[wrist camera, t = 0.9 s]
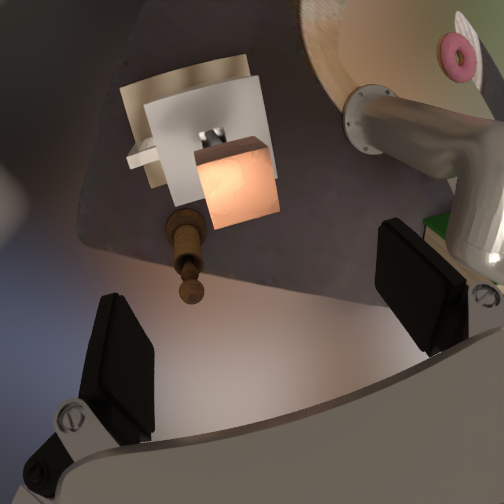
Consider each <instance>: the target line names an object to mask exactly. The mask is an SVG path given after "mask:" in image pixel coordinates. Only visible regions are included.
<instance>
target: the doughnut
mask: <svg viewBox="0 0 504 504" xmlns="http://www.w3.org/2000/svg"><path fill="white" fill-rule="evenodd" d="M456 51H457V52H458V55H459V64H457V62H456V61H457V60H456ZM437 58H438V62H439V65H440V67H441V69H442V71H443V72H444V74H445V75H446V76H447V77H448V78H449V79H451V80H453V81H454V82H457V83H464V82H467V81H469V80H471V78H472V77H474V76H473V75H474V73H475V70H476V63H477V62H476V57H475V52H474V50H473V47H472V46H471V44H470V43H469V41H468V40H467V39H466V38H465V37H463V36H462V35H460V34H459V33H455V32H450V33H447V34H445V35H443V36H442V37H441V38H440V40H439V42H438V45H437Z"/></svg>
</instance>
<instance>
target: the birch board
mask: <svg viewBox="0 0 504 504" xmlns="http://www.w3.org/2000/svg"><path fill="white" fill-rule="evenodd" d="M235 76H250V71H249V67H248V62H247V57H246V54H243V55H238V56H232V57H227V58H223V59H218V60H213V61H209V62H205V63H201V64H196V65H192V66H189V67H185V68H181V69H178V70H174V71H171V72H167V73H164V74H160V75H157V76H154V77H151V78H148V79H145V80H142V81H139V82H136V83H133V84H130V85H128V86H125V87H122V88H120V91H121V95H122V98H123V102H124V105H125V109H126V112H127V115H128V119H129V122H130V125H131V129H132V132H133V135H134V138H135V141H136V142H137V140H140V139H143V138H146V137H149V136H152V132H151V129H150V126H149V122H148V119H147V115H146V112H145V108H144V104H146V103H147V102H149V101H150V100H152V99H153V98H155V97H157V96H160V95H164V94H167V93H170V92H174V91H177V90H181V89H184V88H188V87H192V86H195V85H199V84H203V83H207V82H211V81H215V80H220V79H224V78H229V77H235ZM143 166H144V169H145V172H146V175H147V178H148V180H149V183H150V186H151V188H154V187H157V186H161V185H164V184H167V180H166V177H165V174H164V171H163V168H162V165H161V161H160V160H156V161H153V162H150V163H147V164H144V165H143Z"/></svg>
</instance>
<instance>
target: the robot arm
mask: <svg viewBox="0 0 504 504" xmlns="http://www.w3.org/2000/svg"><path fill="white" fill-rule="evenodd" d="M358 94H359V95H358ZM342 120H343V128H344V132H345V135H346V137H347V139H348V140H349V142H350V143H351V144H352V145H353V146H354V147H355V148H356V149H358V150H359V151H361V152H363V153H366V154H370V155H377V154H382V153H385V154H388V155H390V156H392V157H394V158H396V159H398V160H399V161H401V162H403V163H405V164H407V165H409V166H411V167H413V168H415V169H417V170H418V171H420V172H422V173H424V174H426V175H428V176H430V177H432V178H436V179H449V178H454V177H457V176H458V178H457V184H456V191H455V196H454V200H453V205H452V209H451V213H450V217H449V222H448V226H447V230H446V237H445V242H446V247H447V250H448V252H449V254H450V255H451V256H452V257H453V259H454V260H456V261H457V262H458V263H459V264H461V265H462V266H464V267H465V268H467V269H469V270H471V271H473V272H475V273H477V274H479V275H481V276H483V277H485V278H488V279H490V280H492V281H494V282H496V283H498V284H501V285H503V286H504V122H502V121H496V120H490V119H484V118H478V117H473V116H468V115H464V114H460V113H456V112H453V111H449V110H445V109H442V108H438V107H435V106H431V105H427V104H424V103H419V102H415V101H411V100H407V99H403V98H398V97H397V96H396V95H395V93H394V92H392V91H391V90H390V89H388V88H387V87H384V86H381V85H376V84H369V85H364V86H362V87H360V88H358V89H356V90H355V91H354V92H353V93H352V94H351V95H350V97H349V98H348V100H347V102H346V104H345V107H344V110H343V117H342ZM347 123H348V124H347ZM466 282H467V280H466V279H465V278H464V277H463V276H462V275H461V274H460V273H459V272H458V271H457V270H456V269H455V268H454V267H453V266H452V265H451V264H450V263H449V262H448V261H447V260H446V259H444V258H443V257H442V256H441V255H440V254H439V253H438V252H437V251H436V250H435V249H434V248H432V247H431V246H430V245H429V244H428V243H427V242H426V241H425V240H423V239H422V238H421V237H420V236H419V235H418V234H417V233H415V232H414V231H413V230H412V229H411V228H410V227H408V226H407V225H406V224H405V223H404V222H402V221H401V220H400V219H399V218H392V219H389V220H385V221H383V222H382V224H381V226H379V228H378V245H377V260H376V273H375V287H376V290H377V291H378V293H379V294H380V295H381V297H382V298H383V299H384V301H385V302H386V303H387V305H388V306H389V307H390V309H391V310H392V311H393V313H394V314H395V315H396V317H397V318H398V319H399V321H400V322H401V323H402V325H403V326H404V328H405V329H406V331H407V332H408V333H409V335H410V336H411V337H412V339H413V340H414V342H415V343H416V345H417V346H418V347H419V349H420V350H421V351H422V352H424V351H425V352H426V354H427V355H428V356H429V359H427V360H425V361H423V362H421V363H419V364H417V365H415V366H413V367H410V368H408V369H406V370H404V371H402V372H400V373H397V374H395V375H393V376H391V377H388V378H386V379H384V380H381V381H379V382H377V383H374V384H372V385H369V386H367V387H364V388H362V389H359V390H357V391H354V392H352V393H349V394H346V395H343V396H341V397H338V398H335V399H332V400H330V401H327V402H324V403H321V404H318V405H315V406H312V407H309V408H305V409H302V410H299V411H296V412H292V413H290V414H286V415H282V416H279V417H275V418H272V419H268V420H264V421H260V422H256V423H252V424H248V425H244V426H239V427H235V428H230V429H226V430H221V431H216V432H211V433H206V434H201V435H194V436H188V437H182V438H176V439H170V440H163V441H156V442H148V443H140V442H145V441H151V433H153V432H154V431H155V418H154V417H155V415H154V356H155V355H154V354H155V353H154V348H153V345H152V343H151V342H150V340H149V338H148V337H147V335H146V334H145V332H144V330H143V328H142V327H141V325H140V324H139V322H138V320H137V318H136V317H135V315H134V313H133V311H132V310H131V308H130V306H129V304H128V302H127V301H126V299H125V297H124V296H123V295H121V296H119V294H118V293H112V294H108V295H104V296H102V297H101V299H100V302H99V306H98V310H97V314H96V318H95V321H94V326H93V330H92V334H91V338H90V340H89V344H88V349H87V353H86V358H85V363H84V368H83V373H82V379H81V385H80V390H79V397H78V398H72V399H69V400H66V401H65V402H63V403H62V404H61V405H60V406H59V407H58V409H57V410H56V412H55V415H54V420H53V423H54V428H55V430H56V432H55V433H54V434H53V435H52V436H51V437H50V438H49V439H48V440H47V441H46V442H45V443H44V444H43V445H42V446H41V447H40V448H39V449H38V450H37V451H36V452H35V453H34V454H33V455H32V456H31V457H30V458H29V459H28V461H27V462H26V464H25V466H24V469H23V478H24V482H25V486H22V485H21V486H20V488H19V490H18V491H17V494H16V495H15V498H14V500H13V502H12V504H504V296H503V293H502V292H501V291H500V289H499V288H498V287H496V286H495V285H493V284H492V283H489V282H486V281H478V282H474V283H473V284H471V285H470V287H468V286H467V284H466ZM439 352H441V353H439ZM438 353H439V354H438ZM436 354H437V355H436ZM434 355H435V356H434ZM432 356H433V357H432ZM430 357H431V358H430Z"/></svg>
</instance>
